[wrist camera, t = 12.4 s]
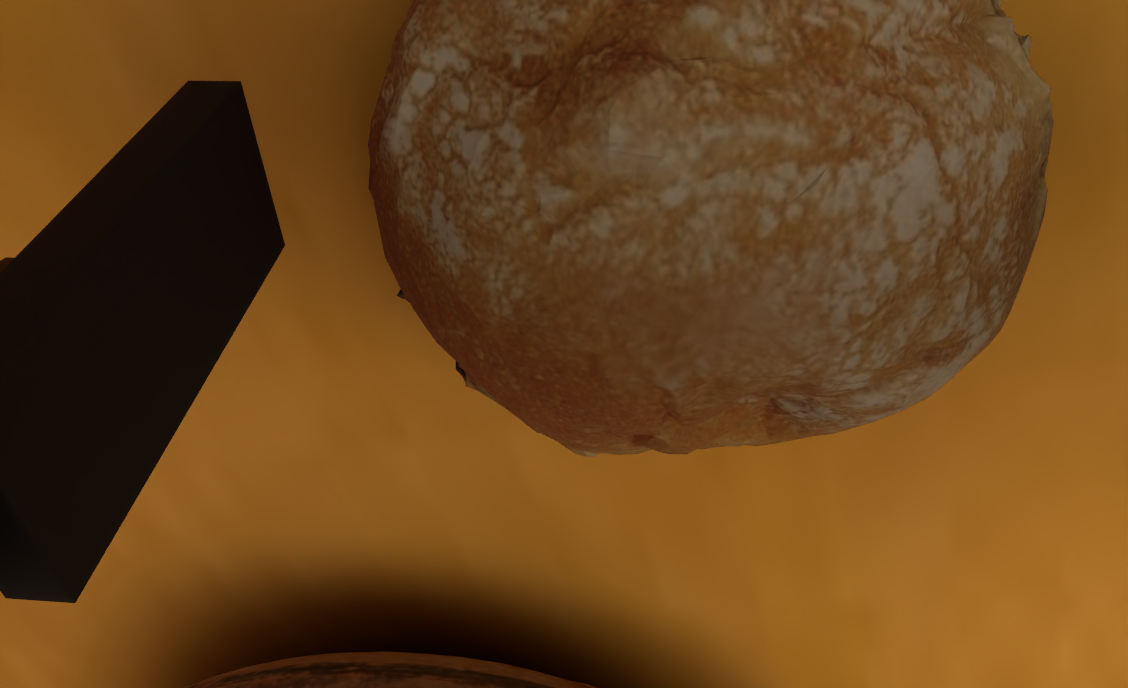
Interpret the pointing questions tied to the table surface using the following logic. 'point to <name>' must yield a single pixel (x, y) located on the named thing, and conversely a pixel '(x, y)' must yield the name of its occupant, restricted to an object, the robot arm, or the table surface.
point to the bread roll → (709, 206)
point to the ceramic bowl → (384, 673)
